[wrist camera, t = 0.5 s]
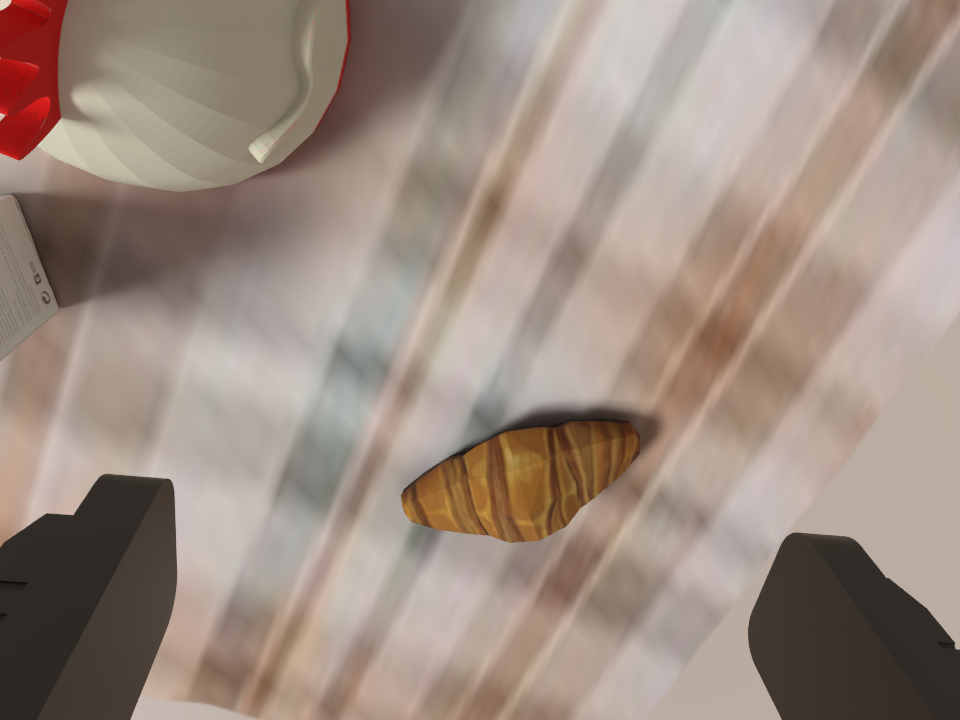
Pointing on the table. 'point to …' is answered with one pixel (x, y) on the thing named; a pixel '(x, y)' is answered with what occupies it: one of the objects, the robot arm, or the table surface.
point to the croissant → (523, 480)
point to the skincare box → (20, 280)
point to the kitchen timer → (168, 84)
